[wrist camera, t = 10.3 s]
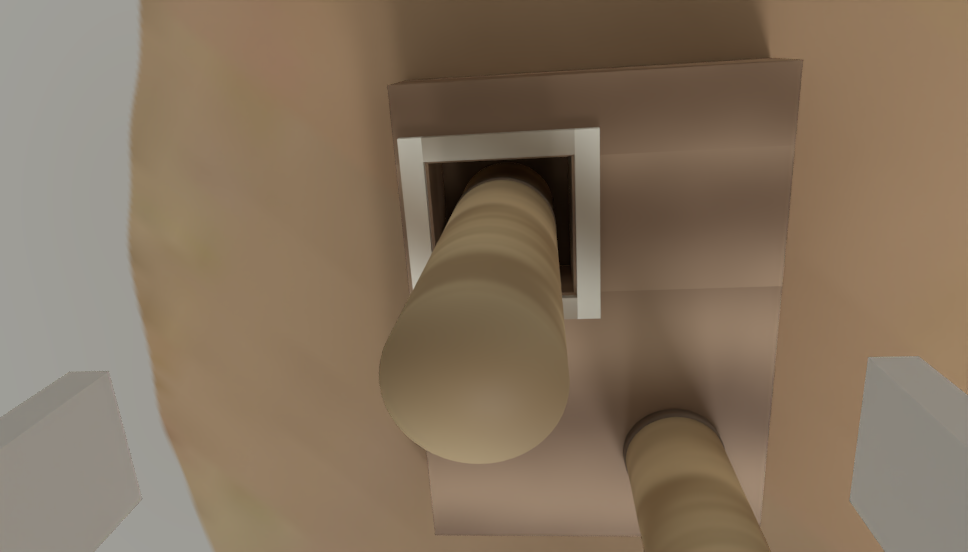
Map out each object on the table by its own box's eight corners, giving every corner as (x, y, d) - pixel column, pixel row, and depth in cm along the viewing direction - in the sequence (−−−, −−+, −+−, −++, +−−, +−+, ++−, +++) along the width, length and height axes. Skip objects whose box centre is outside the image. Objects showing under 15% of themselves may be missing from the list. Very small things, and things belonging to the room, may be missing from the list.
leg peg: (555, 251, 26) (572, 464, 13) (464, 254, 26) (388, 465, 13) (552, 159, 25) (568, 289, 12) (457, 163, 25) (366, 295, 12)
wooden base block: (737, 488, 29) (904, 861, 16) (445, 489, 30) (371, 834, 17) (770, 57, 23) (1081, 75, 10) (405, 80, 24) (245, 123, 11)
